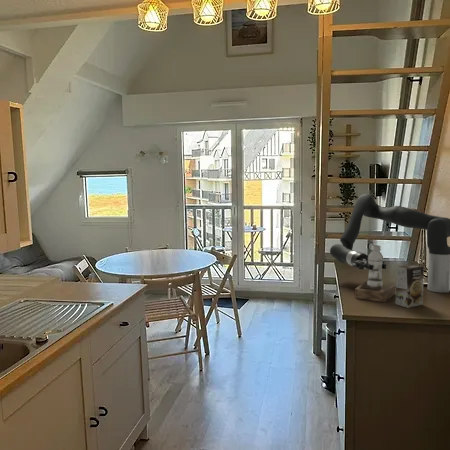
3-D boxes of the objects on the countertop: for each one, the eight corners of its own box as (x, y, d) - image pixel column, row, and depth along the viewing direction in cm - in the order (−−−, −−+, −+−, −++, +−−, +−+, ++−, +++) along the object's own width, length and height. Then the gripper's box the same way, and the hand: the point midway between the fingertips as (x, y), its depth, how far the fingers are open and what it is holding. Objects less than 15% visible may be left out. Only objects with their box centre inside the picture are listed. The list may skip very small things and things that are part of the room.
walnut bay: (394, 294, 194) (395, 285, 193) (385, 302, 182) (385, 293, 181) (365, 290, 201) (365, 281, 201) (354, 297, 189) (354, 288, 189)
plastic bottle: (374, 293, 187) (375, 247, 185) (363, 289, 193) (364, 245, 191) (385, 291, 190) (387, 246, 187) (374, 287, 196) (376, 244, 193)
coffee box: (408, 308, 173) (409, 268, 172) (395, 304, 179) (396, 265, 177) (423, 304, 177) (424, 266, 176) (410, 301, 183) (411, 263, 181)
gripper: (344, 252, 202) (364, 259, 186) (371, 251, 205) (393, 257, 189) (343, 268, 203) (363, 276, 187) (370, 266, 206) (392, 274, 190)
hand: (378, 267), depth 188 cm, fingers closed on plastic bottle, 6 cm apart
